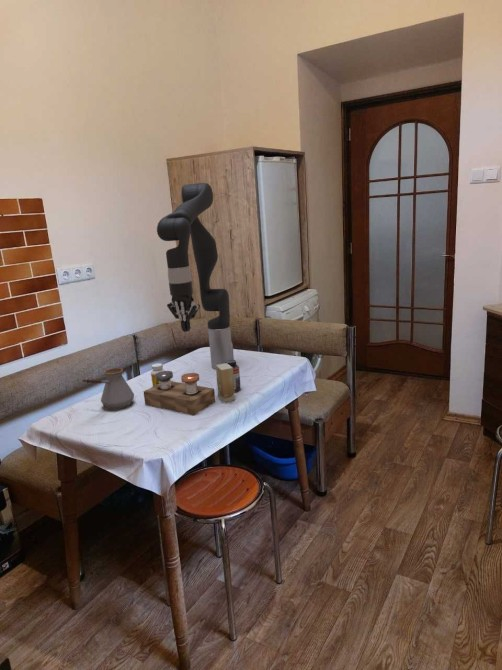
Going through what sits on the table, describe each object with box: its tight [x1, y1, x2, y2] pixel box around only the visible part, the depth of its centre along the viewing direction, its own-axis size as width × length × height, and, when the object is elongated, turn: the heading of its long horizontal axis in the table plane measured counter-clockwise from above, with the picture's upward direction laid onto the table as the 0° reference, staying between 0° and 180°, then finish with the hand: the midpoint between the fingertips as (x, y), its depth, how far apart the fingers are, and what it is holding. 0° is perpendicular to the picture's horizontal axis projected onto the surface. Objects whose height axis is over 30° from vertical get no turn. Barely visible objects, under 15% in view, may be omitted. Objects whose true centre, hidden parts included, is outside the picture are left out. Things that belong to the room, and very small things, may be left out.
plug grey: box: [155, 370, 174, 391], centre depth 168 cm, size 6×6×10 cm
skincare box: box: [215, 363, 236, 403], centre depth 166 cm, size 6×4×12 cm
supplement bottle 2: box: [225, 358, 242, 393], centre depth 174 cm, size 6×6×11 cm
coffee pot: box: [79, 367, 135, 410], centre depth 163 cm, size 21×12×15 cm, turn 158°
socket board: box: [142, 380, 216, 416], centre depth 166 cm, size 12×22×5 cm, turn 57°
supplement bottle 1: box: [150, 362, 166, 387], centre depth 181 cm, size 5×5×10 cm
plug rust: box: [180, 372, 200, 396], centre depth 161 cm, size 6×6×10 cm
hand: (186, 330), depth 161 cm, fingers closed
